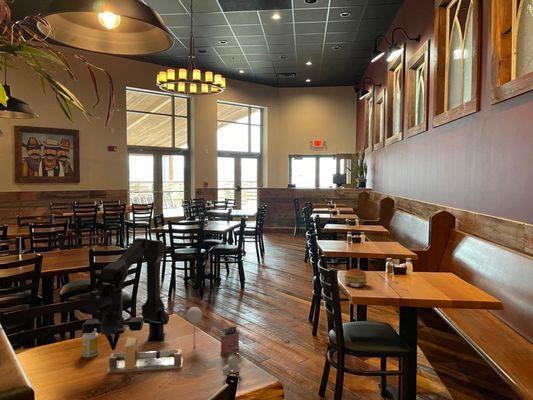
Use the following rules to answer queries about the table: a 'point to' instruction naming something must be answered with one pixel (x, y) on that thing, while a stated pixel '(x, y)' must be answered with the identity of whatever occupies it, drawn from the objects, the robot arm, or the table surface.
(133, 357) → the tan wooden block
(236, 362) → the rubber duck
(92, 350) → the supplement bottle
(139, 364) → the grey piece
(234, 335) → the lighter
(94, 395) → the table surface
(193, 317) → the lollipop
